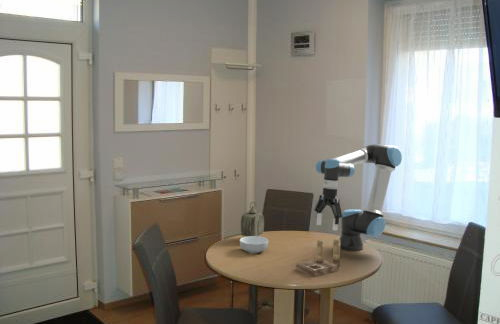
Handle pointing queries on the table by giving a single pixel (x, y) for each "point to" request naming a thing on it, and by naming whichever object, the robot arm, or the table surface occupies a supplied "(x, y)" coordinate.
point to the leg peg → (336, 252)
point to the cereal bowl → (253, 244)
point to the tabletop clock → (252, 223)
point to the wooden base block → (317, 264)
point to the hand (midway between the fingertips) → (326, 227)
